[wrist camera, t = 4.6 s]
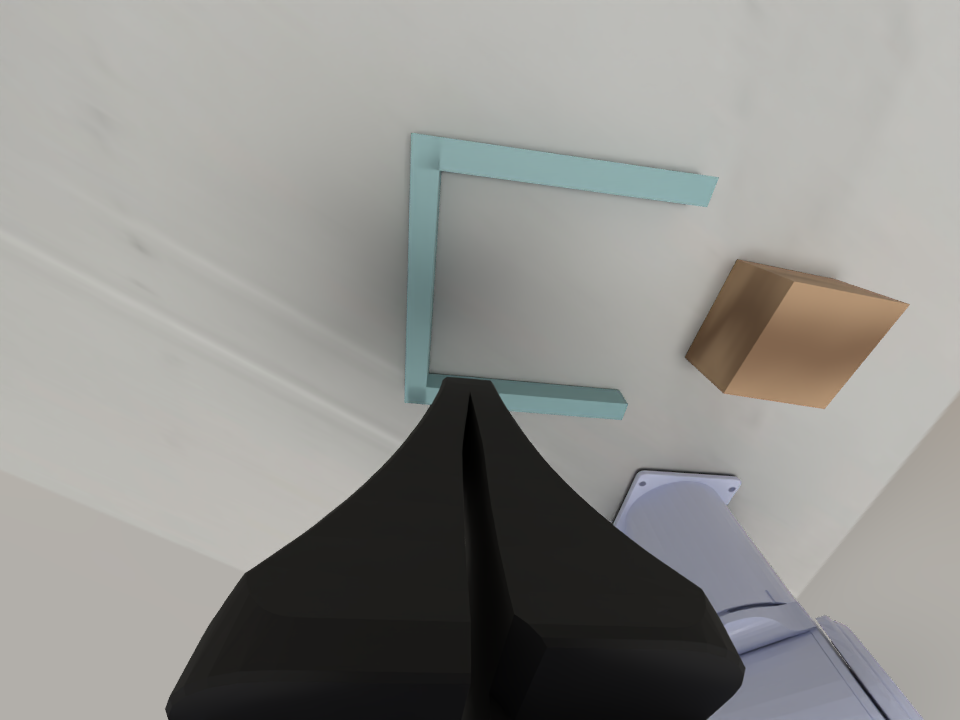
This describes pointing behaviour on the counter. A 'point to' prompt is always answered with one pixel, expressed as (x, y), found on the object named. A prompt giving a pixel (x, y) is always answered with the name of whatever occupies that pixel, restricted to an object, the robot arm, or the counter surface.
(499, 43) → the counter surface
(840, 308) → the walnut block
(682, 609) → the robot arm
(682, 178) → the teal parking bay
